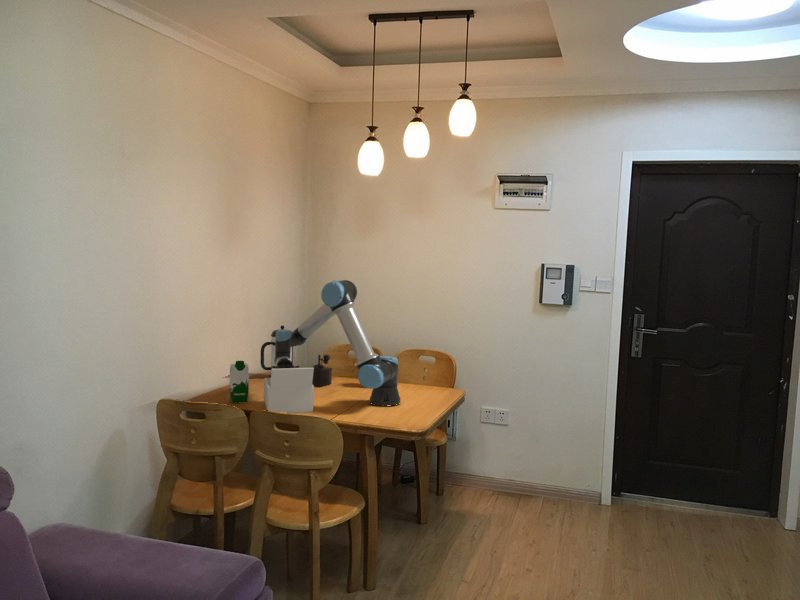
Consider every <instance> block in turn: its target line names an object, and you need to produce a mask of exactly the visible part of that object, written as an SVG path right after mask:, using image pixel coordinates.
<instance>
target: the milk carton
mask: <svg viewBox="0 0 800 600" xmlns="http://www.w3.org/2000/svg"><path fill="white" fill-rule="evenodd" d="M249 369H250V368H249V365H248V363H246V362H245V361H244V360H235V363H230V365H229V396H230V401H231V403H232V404H240V403H239V402H247V403H248V401H249V400H248V399H249V383H250V382H249V380H250V378H249V375H250V374H249V371H250V370H249Z"/></svg>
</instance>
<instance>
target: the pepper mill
mask: <svg viewBox="0 0 800 600" xmlns="http://www.w3.org/2000/svg"><path fill="white" fill-rule="evenodd" d="M317 359H318V362H317V363H316V364H314V365H313V366H310V367H308V368H314V372H313V380H312V384H313V385H314V388H315V387H316V388H322V387H323V386H324V387H326V386H327V385H328V386H330V384H331V385H332V378H333V377H332V376H333V375H332V373H333V371H332V370H333V368H332V367H329V366H325V365H328V364H329V361H330V360H331V356H330V355H329V354H324V355H323V357H321V354H318V357H317ZM321 361H322V363H323V364H322V363H321ZM324 364H325V365H324ZM324 387H323V388H324Z"/></svg>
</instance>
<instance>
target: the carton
mask: <svg viewBox="0 0 800 600" xmlns="http://www.w3.org/2000/svg"><path fill="white" fill-rule="evenodd" d="M270 385H271V377H263V401H264V406H265V408H266V411H267V410H268V411H275V412H287V413H288V414H307V413H308V412H309V413H313V411H314V403H315V401H314V400H315V386H314V385H313V384H312V387H292V388H270ZM268 411H267V412H268ZM309 413H308V414H309Z"/></svg>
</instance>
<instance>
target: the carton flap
mask: <svg viewBox="0 0 800 600" xmlns="http://www.w3.org/2000/svg"><path fill="white" fill-rule="evenodd" d="M270 371H271V372H270V374H271V377H270V378H271V385H270V388H292V387H312V380H313V372H314V368H309V367H299V368H284V369H272V370H270Z"/></svg>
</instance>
